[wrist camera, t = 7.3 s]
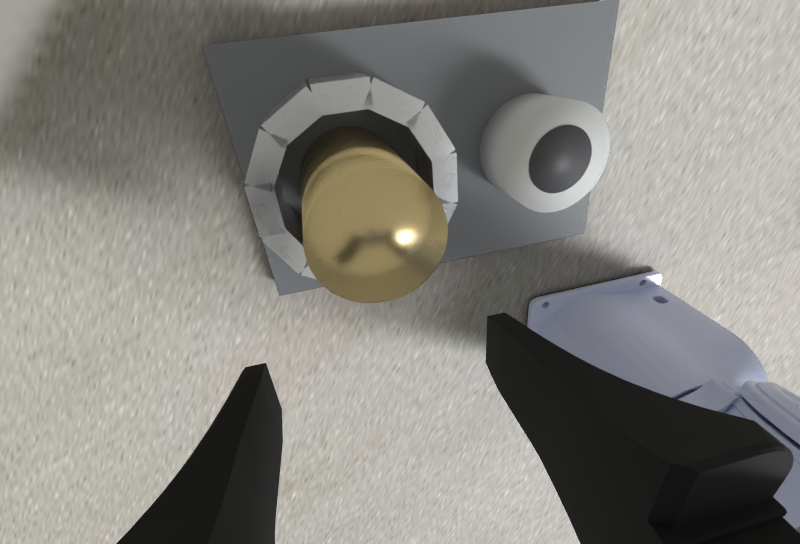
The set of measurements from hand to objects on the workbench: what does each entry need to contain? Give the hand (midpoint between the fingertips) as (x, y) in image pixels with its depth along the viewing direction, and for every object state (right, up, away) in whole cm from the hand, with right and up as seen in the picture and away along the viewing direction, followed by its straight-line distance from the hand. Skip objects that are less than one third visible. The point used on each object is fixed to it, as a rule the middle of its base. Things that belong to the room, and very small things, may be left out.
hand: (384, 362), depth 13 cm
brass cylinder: (-2, +7, +5) cm, 9 cm away
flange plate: (+2, +9, +7) cm, 11 cm away
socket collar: (-2, +7, +5) cm, 9 cm away
